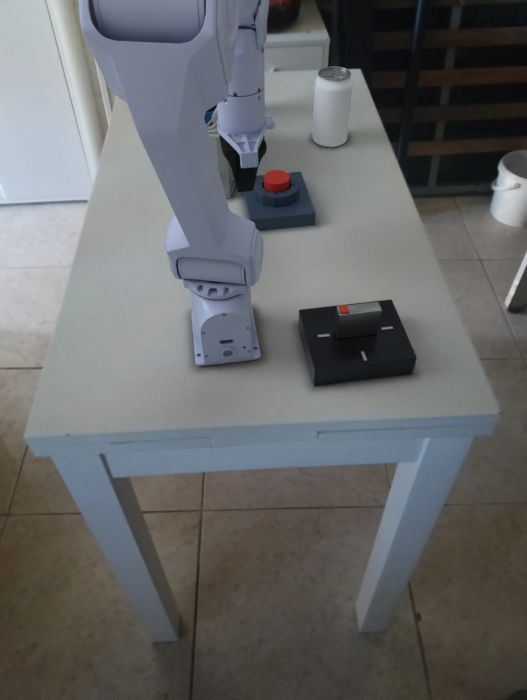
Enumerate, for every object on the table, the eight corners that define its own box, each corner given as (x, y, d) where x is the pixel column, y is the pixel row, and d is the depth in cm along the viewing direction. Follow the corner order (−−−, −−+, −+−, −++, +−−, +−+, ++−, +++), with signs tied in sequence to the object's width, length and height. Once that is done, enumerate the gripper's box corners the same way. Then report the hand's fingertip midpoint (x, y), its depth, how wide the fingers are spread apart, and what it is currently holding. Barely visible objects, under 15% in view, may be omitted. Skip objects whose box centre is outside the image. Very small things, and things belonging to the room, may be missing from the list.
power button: (291, 192, 88) (291, 182, 86) (265, 195, 87) (265, 184, 86) (287, 178, 90) (287, 168, 89) (262, 180, 90) (262, 170, 89)
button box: (314, 225, 88) (316, 203, 85) (250, 231, 87) (249, 209, 84) (300, 183, 96) (301, 161, 93) (241, 188, 95) (240, 167, 92)
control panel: (388, 315, 75) (392, 298, 72) (412, 374, 68) (417, 356, 66) (298, 326, 74) (298, 308, 71) (313, 386, 67) (314, 369, 65)
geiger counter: (231, 117, 82) (265, 50, 99) (189, 113, 83) (230, 47, 100) (236, 200, 93) (266, 127, 109) (198, 196, 94) (234, 124, 110)
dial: (374, 325, 69) (378, 299, 66) (377, 334, 68) (382, 308, 65) (333, 330, 69) (336, 304, 66) (336, 339, 68) (339, 313, 65)
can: (345, 149, 103) (352, 82, 94) (310, 147, 104) (313, 80, 95) (348, 132, 107) (354, 66, 98) (313, 130, 108) (317, 64, 99)
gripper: (284, 111, 62) (283, 217, 72) (265, 58, 71) (266, 158, 82) (219, 117, 61) (227, 222, 71) (209, 62, 71) (217, 162, 81)
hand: (244, 188), depth 76 cm, fingers closed
